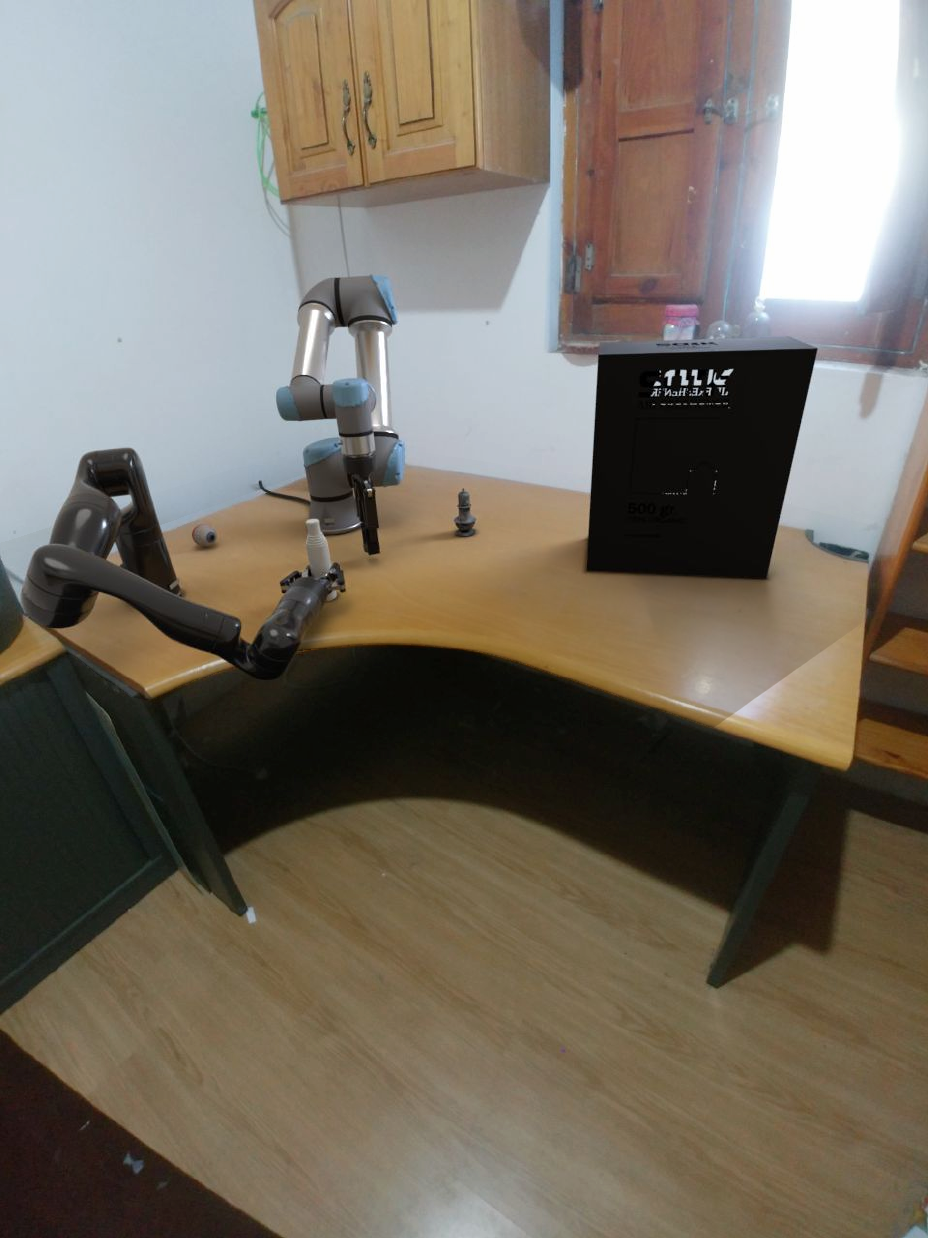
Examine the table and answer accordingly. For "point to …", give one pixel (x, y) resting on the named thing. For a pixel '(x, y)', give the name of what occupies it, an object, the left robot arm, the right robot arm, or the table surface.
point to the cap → (366, 546)
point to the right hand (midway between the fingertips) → (371, 550)
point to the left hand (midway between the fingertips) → (325, 566)
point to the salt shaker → (464, 515)
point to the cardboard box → (694, 454)
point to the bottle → (318, 552)
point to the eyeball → (204, 535)
